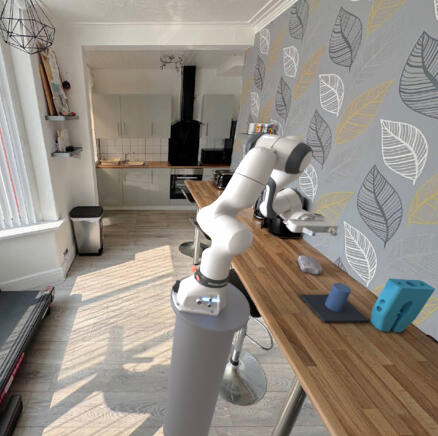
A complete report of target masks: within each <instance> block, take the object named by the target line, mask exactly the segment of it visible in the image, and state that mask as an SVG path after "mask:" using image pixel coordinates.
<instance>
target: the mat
mask: <svg viewBox="0 0 438 436" xmlns="http://www.w3.org/2000/svg"><path fill="white" fill-rule="evenodd" d="M328 295H329V294H301V295H300V298H301V299H302V300H303V301H304V302H305V303H306V305H307V306H308V307H309V308H310V309H311V310H312V311H313V312H314V314H316V315H317V317H319V319H320V320H321V321H322V322H323V323H368V322H370V319H369V318H368V317H367V316H365V315H364V313H362V312H361V311H360V310H358V308H356V307H355V306H354V305H353V304H352V303H350V302H349V300H347V301H346V303H345V305H344V307H343V309H342V311H341V312H336V311H333V310H331V309H329V308H328V307H327V306H326V305H325V302H326V300H327V298H328Z"/></svg>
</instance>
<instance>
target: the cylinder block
mask: <svg viewBox="0 0 438 436" xmlns="http://www.w3.org/2000/svg"><path fill="white" fill-rule="evenodd" d="M351 292H352V289H351V288H350V287H349V286H348V285H346V284H344V283H341V282H334V283H333V285H332V287H331V289H330V291H329V293H328V294H327V295H328V298H327V300H326V302H325V305H326V306H327V307H328V308H329V309H331V310H333V311H336V312H341V311H342V309H343V307H344V305H345V303H346V301H348V299H349V297H350V294H351Z"/></svg>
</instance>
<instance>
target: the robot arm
mask: <svg viewBox="0 0 438 436" xmlns="http://www.w3.org/2000/svg"><path fill="white" fill-rule="evenodd" d="M244 152H245V153H244V154H245V156H244V157H243V158H242V159H241V161H240V163H239V164H238V166H237V167H236V169H235V171H234V172H233V175H232V176H231V178H230V180H229V182H228V183H227V185H226V187H225V189H224V190H223V192H221V194H220V196H218V198H217V199H216V200H215V201H213V202H212V203H211V204H208V205H206V206H204V207H202V208H201V209H199V211H198V213H197V215H196V222H197V224H198V226H199V227H200V229H201V231H202V232H204V233H205V234H206V235H207V236H208V237H209V238H210V239H211V246H209V247H207V248H205V249H204V250H203V252H202V254H201V260H200V266H198V268H197V266H196V265H193V266H191V270H192V272H193V273H194V274H191V275H192V276H191V275H189V276H190V277H188V278H186V279H184V280H182V281H180V279H176V281H175V283H174V284H175V285H174V284H173V285H172V287H171V290H172V289H173V293H172V297H173V301H174V304H175V306H176V307H177V309H178V310H179V311H182V312H188V313H196V314H203V315H210V316H218V315H219V313H220V311H221V310H223V309H224V308H225V307H226V304H227V301H226V286H227V284H228V283H229V279H230V269H231V267H232V266H231V265H232V262H233V259H234V258H235V256H236V255H242V254H244V253H245V252H246V251H247V252H248V250H249V249H250V247H251V246H252V244H253V241H254V234H253V232H252V230H250V229H249V227H247V226H246V225H245V223H243V222H242V221H240V220H239V219H237V218H236V216H237V215H238V214H239V213H240V212H242V211H243V210H245V209H246V210H247V209H250V208H252V207H254V206H255V205H256V203H257V202H258V199H259V198H260V196H261V194H262V196H261V200H260V202H259V205H258V206H259V211H260V213H261V214H262V216H263V217H265V218H267V219H274V218H276V217H278V216H279V217H280V218H281V219H282V223H283V224H285V227H286V228H287V229H288V230H289V231H290V232H292V233H296V234H297V233H298V234H299V233H300V234H301V233H302V234H306V235H309V236H310V237H316V234H329V235H330V236H331V237H337V236H338V234H339V233H338V229H339V224H337V223H336V222H334V221H333V220H331V219H329V218H327V217H325V215H323V214H321V213H314V212H311V211H307V210H305V209H303V207H304V197H303V194H302V193H301V192H300V191H299V190H297V189H296V188H293V187H287V186H289V185H291V184H292V183H295V181H297V180H298V179H299V178H300V177H302V174H303V173H304V172H305V170H306V169H307V168H308V167H309V165H310V164H311V162H312V158H313V155H314V150H313V149H312V147H311V145H309V144H307V143H306V142H305V140H304V139H303V137H301V136H298V135H287V136H284V135H279V134H273V133H268V132H263V131H262V132H256V133H254V134H253V135H251V136H250V138H248V140H247V142H246V145H245V149H244ZM286 187H287V188H286ZM284 188H285V189H284Z"/></svg>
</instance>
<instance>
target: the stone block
mask: <svg viewBox="0 0 438 436" xmlns="http://www.w3.org/2000/svg"><path fill="white" fill-rule="evenodd" d="M297 263H298V265H299V267H300V270H301V271H302V272H303V273H306V274H312V275H320V274H321V273H322V272H323V267H322V265H321V263H320V262H319V260H317V259H316V258H313V257H311V256H309V255H299V256H298V258H297Z"/></svg>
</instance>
